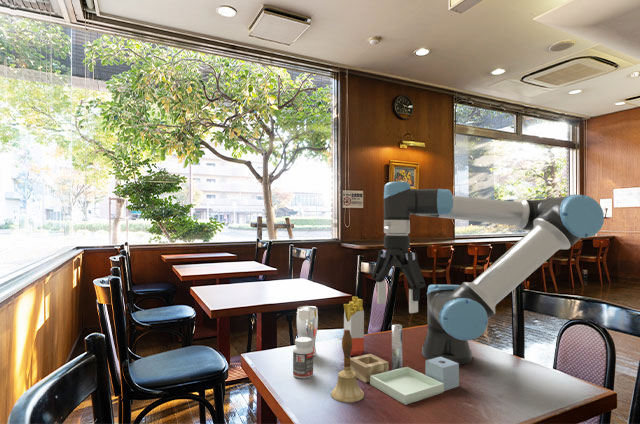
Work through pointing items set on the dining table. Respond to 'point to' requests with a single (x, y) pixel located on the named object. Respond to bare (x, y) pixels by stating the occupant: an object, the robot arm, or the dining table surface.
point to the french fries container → (355, 324)
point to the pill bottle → (303, 358)
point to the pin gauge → (396, 346)
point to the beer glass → (307, 323)
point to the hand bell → (347, 376)
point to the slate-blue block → (443, 371)
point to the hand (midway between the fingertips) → (396, 307)
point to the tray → (406, 385)
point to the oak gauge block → (368, 366)
